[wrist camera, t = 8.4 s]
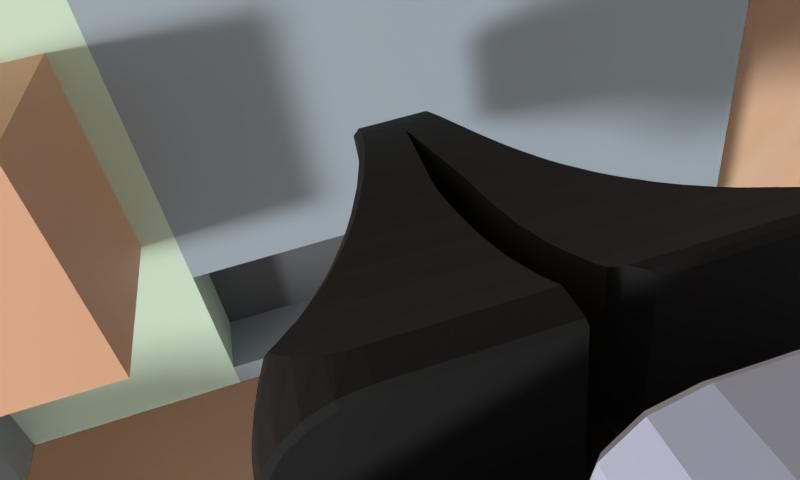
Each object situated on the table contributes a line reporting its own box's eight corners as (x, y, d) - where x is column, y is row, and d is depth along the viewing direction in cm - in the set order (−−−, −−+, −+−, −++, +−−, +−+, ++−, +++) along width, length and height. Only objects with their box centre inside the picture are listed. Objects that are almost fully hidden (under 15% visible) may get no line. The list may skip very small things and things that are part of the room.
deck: (741, -401, 12) (883, -446, 10) (667, 204, 21) (734, 262, 18) (-430, -196, 10) (-639, -186, 7) (25, 394, 18) (0, 492, 16)
